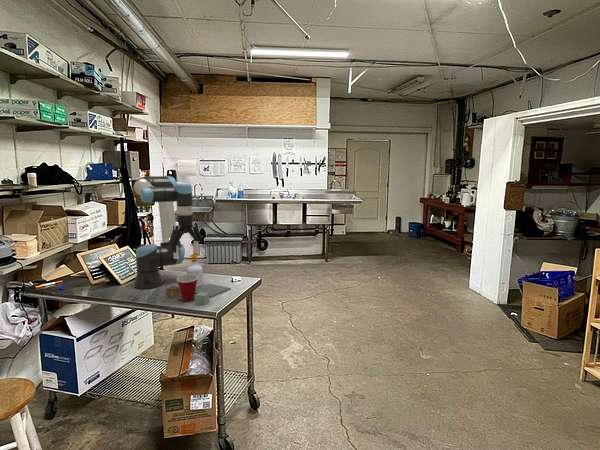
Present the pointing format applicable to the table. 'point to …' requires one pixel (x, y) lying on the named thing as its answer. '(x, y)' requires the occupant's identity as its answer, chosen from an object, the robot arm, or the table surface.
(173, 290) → the walnut block
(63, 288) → the table surface
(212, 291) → the charcoal mat
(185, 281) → the plastic cup
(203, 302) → the green block
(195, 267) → the soap bottle
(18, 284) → the table surface
